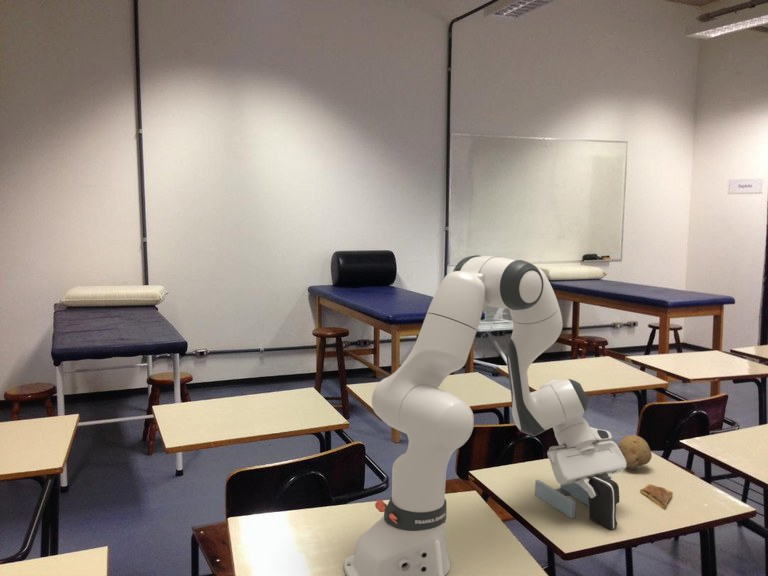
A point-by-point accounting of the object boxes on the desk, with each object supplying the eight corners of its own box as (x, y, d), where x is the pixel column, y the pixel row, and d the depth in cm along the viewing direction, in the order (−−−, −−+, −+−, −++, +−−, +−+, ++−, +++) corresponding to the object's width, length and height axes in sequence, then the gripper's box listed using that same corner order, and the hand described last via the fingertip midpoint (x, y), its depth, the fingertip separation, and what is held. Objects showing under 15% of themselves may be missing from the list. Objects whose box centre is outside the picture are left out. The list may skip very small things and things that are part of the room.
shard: (664, 511, 161) (665, 505, 161) (633, 503, 166) (633, 496, 165) (673, 496, 170) (674, 490, 170) (643, 488, 175) (644, 482, 174)
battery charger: (622, 525, 152) (621, 481, 150) (611, 531, 150) (610, 486, 148) (598, 513, 158) (597, 470, 156) (588, 518, 156) (586, 475, 154)
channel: (571, 518, 156) (572, 503, 156) (534, 494, 169) (535, 480, 168) (601, 511, 160) (602, 495, 160) (563, 488, 173) (563, 474, 172)
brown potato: (644, 463, 191) (646, 431, 189) (655, 475, 182) (657, 442, 181) (613, 462, 191) (615, 430, 190) (622, 474, 182) (624, 440, 181)
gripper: (551, 442, 153) (577, 497, 146) (614, 430, 162) (642, 482, 155) (538, 453, 158) (563, 507, 150) (600, 441, 167) (627, 492, 159)
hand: (603, 494), depth 153 cm, fingers closed on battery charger, 4 cm apart
